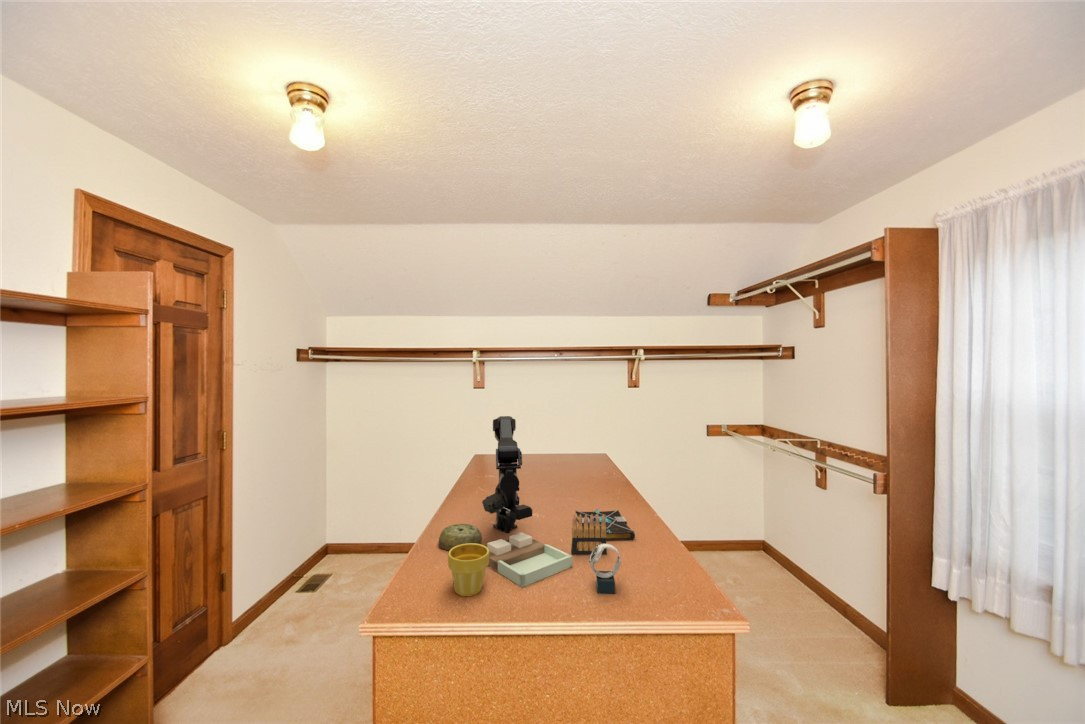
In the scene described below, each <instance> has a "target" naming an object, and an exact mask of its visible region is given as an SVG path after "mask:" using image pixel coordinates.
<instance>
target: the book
mask: <svg viewBox="0 0 1085 724" xmlns="http://www.w3.org/2000/svg"><path fill="white" fill-rule="evenodd" d="M574 512H575V513H574V514H576V521H577V523H578V520H579V515H580V514H581V516H582V526H583V528H584V518H585V514H587V517H588V527H589V526H590V517H591V514H592V515H593V519H594V536H595V525H596V516H597V514H598V515H599V521H600V536H601V523H602V515H603V514H604V516H605V523H606V541H633V540H635V541H636V539H635V538H636V534H635V530H633V529H631V528H630V527H629V526H628V521H627V519H626V518H625V517H624V516H622V514H621V512H620V510H619V509H616V510H607V511H600V510H599V509H598V508H596V509H595V511H579V510H575V511H574Z"/></svg>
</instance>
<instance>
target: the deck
mask: <svg viewBox="0 0 1085 724" xmlns="http://www.w3.org/2000/svg"><path fill="white" fill-rule="evenodd" d="M505 541H506V542H508V543H509V539H506V540H505ZM510 544H511V543H510ZM544 545H545V544H544V543H543V542H540V541H538V540H537V539H535V538H532V544H530V545H527V546H524V547H521V548H518V547H516V546H514V545H513V544H511V551H509V552H506V553H503V554H500V555H495V554H494V553H492V552H490V551H489V564H488V566H487V567H489V568H491V569H492V570H494V571H495V572H497V573H499V572H498V561H500V560H501V561H503V562H505V563H506V564H508V565H512V564H515V563H518V562H521V561H523V560H526V559H529V558H532V557H534V556H537V555H540V554H542V553H544Z"/></svg>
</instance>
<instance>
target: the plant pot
mask: <svg viewBox="0 0 1085 724" xmlns="http://www.w3.org/2000/svg"><path fill="white" fill-rule="evenodd" d="M447 564H448V568H449V570H450V571H451V576H452V582H453V586H454V592H455V593H456V594H457V595H459V596H461V597H462V596H463V597H471V596H475V595H477V594H478V593H480V592H481V591H482V588H483V582H484V578H485V573H486V568H487V567H489V566H488V564H489V549H488V548H487V546H485V545H484V544H481V543H480V544H476V543H468V544H461V545H458V546H455V547H453V548H452V549H451V550H450V551H449V550H448V553H447Z"/></svg>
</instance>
